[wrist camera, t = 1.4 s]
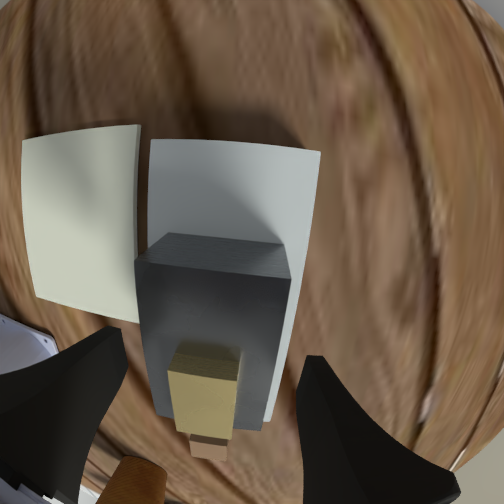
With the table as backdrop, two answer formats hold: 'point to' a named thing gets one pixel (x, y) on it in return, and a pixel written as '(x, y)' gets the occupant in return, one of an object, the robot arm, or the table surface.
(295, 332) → the table surface
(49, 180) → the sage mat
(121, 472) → the disposable coffee cup
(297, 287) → the white rectangular block
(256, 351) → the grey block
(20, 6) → the table surface
